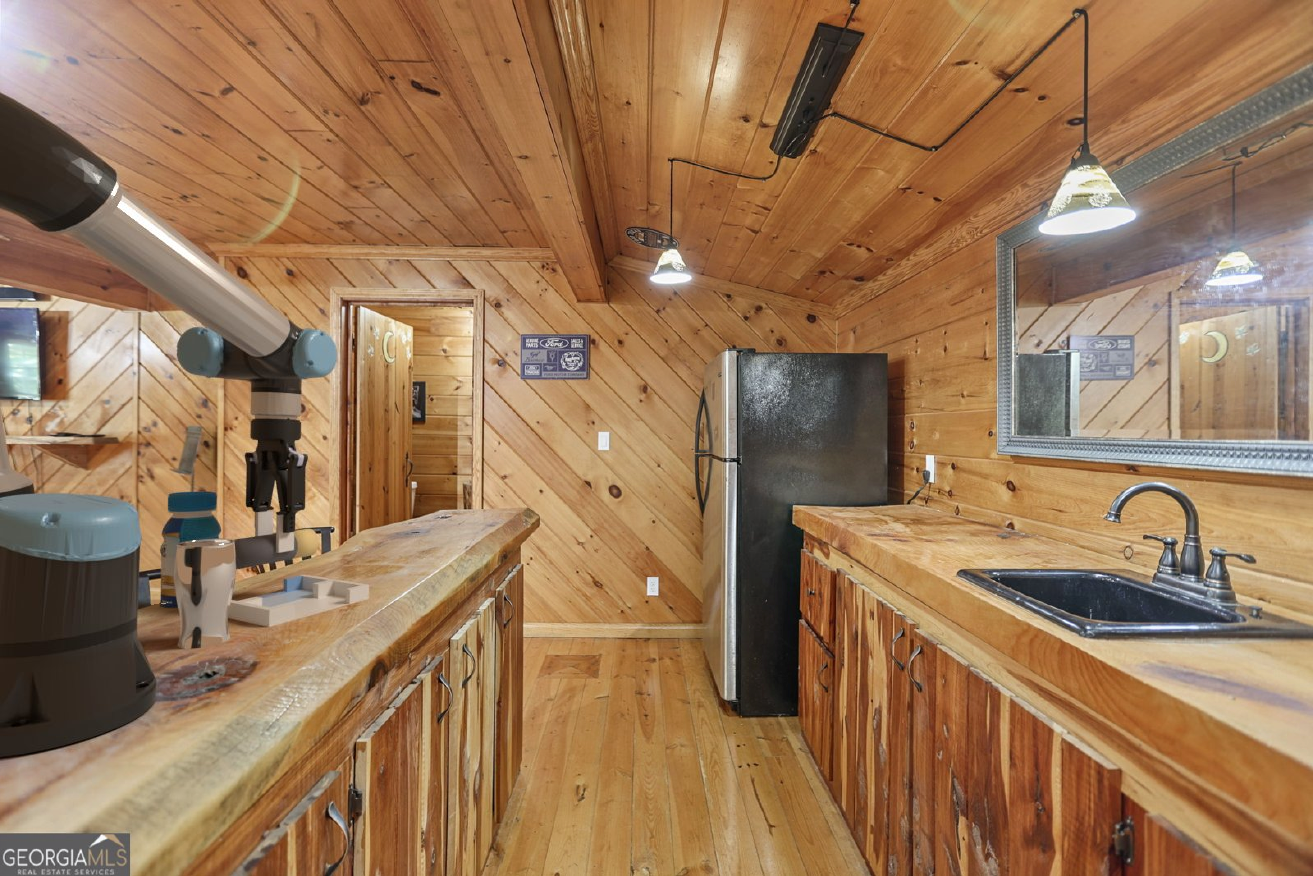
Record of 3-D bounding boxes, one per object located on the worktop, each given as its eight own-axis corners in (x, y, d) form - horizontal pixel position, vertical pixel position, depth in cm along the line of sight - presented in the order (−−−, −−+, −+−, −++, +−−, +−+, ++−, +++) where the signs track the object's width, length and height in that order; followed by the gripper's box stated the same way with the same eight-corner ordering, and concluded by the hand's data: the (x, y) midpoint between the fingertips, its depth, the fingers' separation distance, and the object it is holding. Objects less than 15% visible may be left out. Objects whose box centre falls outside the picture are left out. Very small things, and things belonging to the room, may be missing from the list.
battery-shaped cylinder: (244, 571, 96) (245, 541, 96) (225, 567, 98) (226, 538, 98) (318, 556, 108) (318, 530, 108) (300, 553, 110) (300, 527, 110)
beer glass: (246, 641, 86) (248, 539, 86) (205, 658, 79) (207, 547, 79) (203, 638, 86) (205, 537, 86) (158, 655, 79) (161, 545, 79)
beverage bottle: (205, 612, 99) (208, 494, 99) (147, 615, 97) (150, 495, 97) (229, 599, 107) (232, 490, 107) (176, 601, 105) (178, 490, 105)
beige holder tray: (269, 633, 89) (269, 610, 89) (199, 617, 96) (200, 596, 96) (368, 604, 106) (369, 584, 106) (303, 592, 113) (304, 574, 113)
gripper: (331, 418, 103) (329, 550, 103) (264, 418, 110) (262, 541, 110) (289, 417, 96) (287, 558, 96) (221, 417, 103) (219, 548, 103)
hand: (274, 549), depth 103 cm, fingers closed on battery-shaped cylinder, 5 cm apart
